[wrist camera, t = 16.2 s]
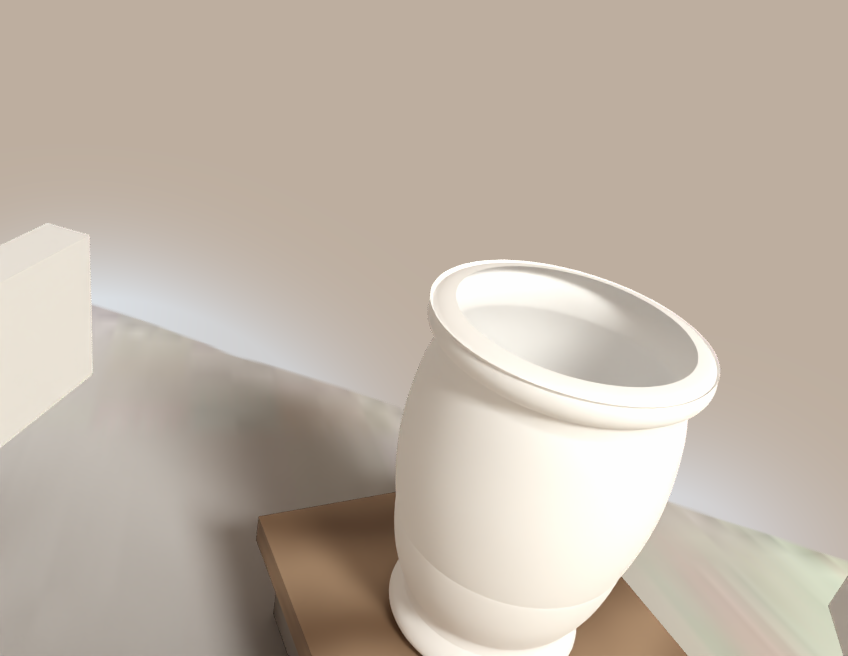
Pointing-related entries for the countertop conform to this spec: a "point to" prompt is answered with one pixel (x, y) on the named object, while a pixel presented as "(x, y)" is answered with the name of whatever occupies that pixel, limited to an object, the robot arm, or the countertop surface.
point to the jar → (535, 453)
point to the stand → (369, 588)
